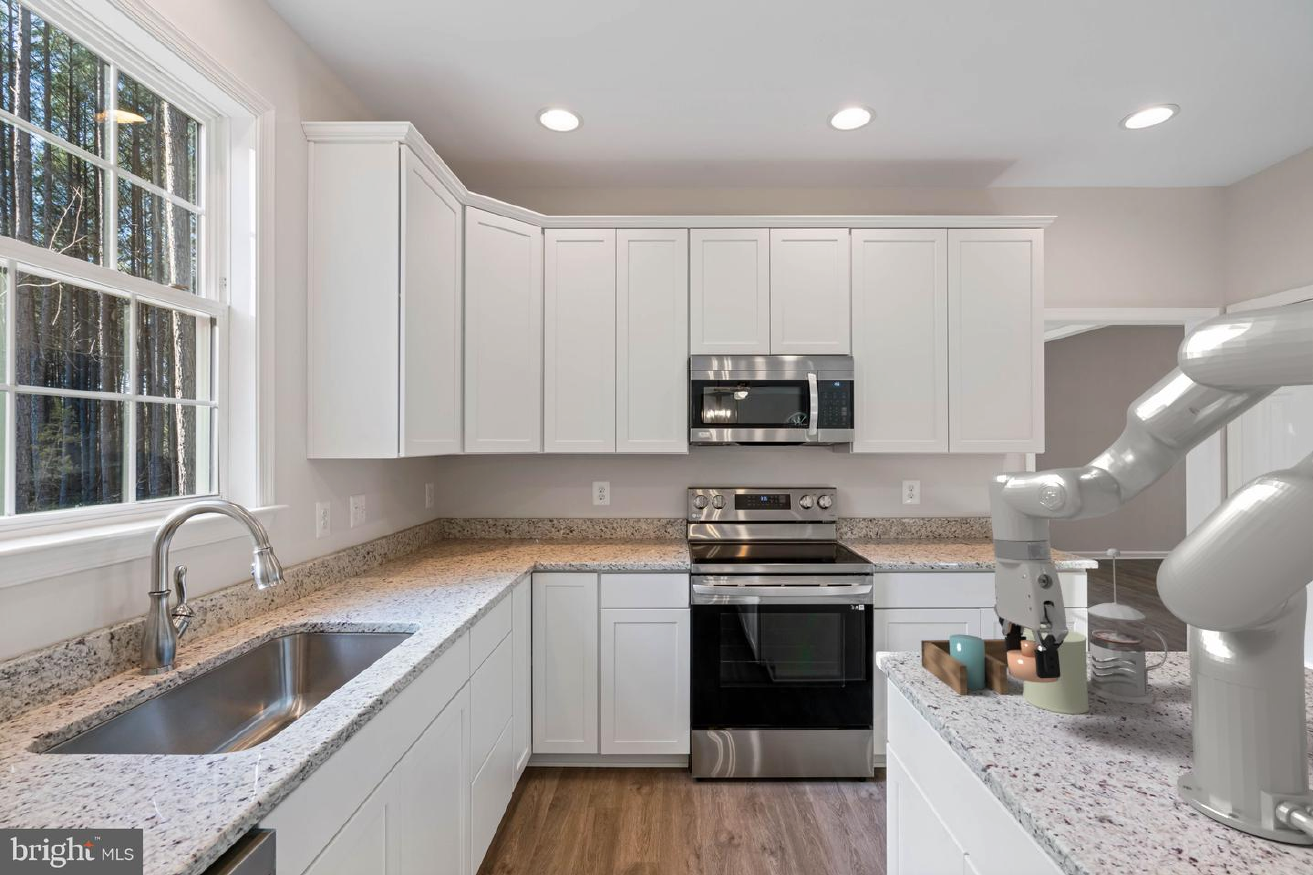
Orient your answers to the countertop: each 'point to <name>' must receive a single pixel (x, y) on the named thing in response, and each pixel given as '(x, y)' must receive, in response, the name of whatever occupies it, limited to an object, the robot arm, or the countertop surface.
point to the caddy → (956, 672)
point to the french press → (1120, 654)
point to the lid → (1025, 663)
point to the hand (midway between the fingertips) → (1032, 668)
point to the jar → (970, 658)
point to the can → (1063, 678)
